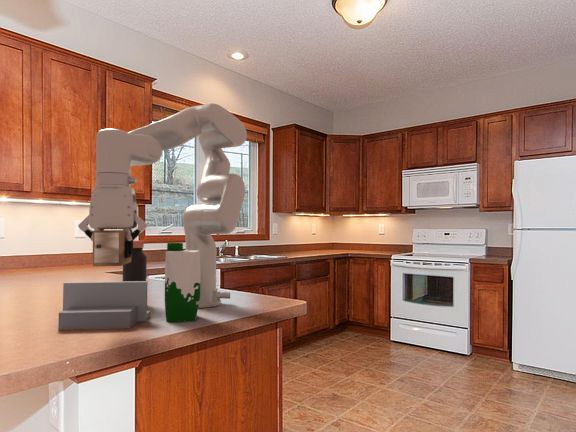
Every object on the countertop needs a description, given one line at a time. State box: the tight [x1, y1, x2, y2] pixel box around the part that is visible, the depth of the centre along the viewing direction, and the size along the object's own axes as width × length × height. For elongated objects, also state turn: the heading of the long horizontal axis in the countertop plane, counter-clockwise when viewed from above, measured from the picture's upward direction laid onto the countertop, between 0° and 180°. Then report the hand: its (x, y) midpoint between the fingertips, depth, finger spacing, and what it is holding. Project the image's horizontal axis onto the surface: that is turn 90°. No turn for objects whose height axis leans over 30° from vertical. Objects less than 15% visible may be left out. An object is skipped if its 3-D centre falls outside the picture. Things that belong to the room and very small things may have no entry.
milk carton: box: [164, 242, 201, 323], centre depth 103 cm, size 9×9×20 cm
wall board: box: [57, 280, 151, 331], centre depth 98 cm, size 20×12×10 cm, turn 98°
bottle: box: [122, 240, 148, 282], centre depth 120 cm, size 7×7×20 cm
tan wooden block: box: [92, 229, 131, 267], centre depth 92 cm, size 6×10×8 cm, turn 7°
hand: (113, 256), depth 93 cm, fingers closed on tan wooden block, 6 cm apart
